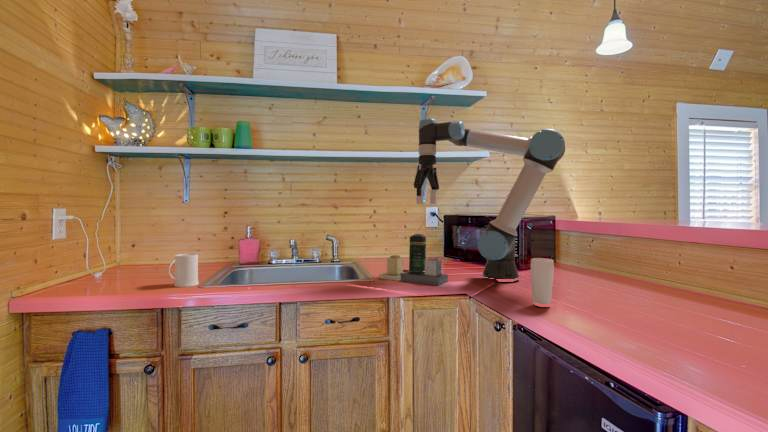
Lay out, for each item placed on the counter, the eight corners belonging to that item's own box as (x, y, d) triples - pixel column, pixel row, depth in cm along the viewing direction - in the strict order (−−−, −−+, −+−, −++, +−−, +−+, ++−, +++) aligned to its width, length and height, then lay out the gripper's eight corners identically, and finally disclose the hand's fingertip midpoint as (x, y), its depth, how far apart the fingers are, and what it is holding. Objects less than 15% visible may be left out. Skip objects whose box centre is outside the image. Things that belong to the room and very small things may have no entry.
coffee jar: (425, 274, 172) (425, 234, 172) (408, 273, 173) (408, 234, 173) (426, 271, 181) (426, 233, 181) (410, 270, 183) (410, 233, 182)
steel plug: (441, 282, 150) (441, 258, 149) (436, 284, 145) (436, 259, 145) (430, 280, 152) (430, 257, 152) (424, 282, 148) (424, 258, 148)
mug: (173, 289, 137) (173, 257, 137) (161, 287, 142) (160, 255, 141) (203, 284, 147) (203, 254, 147) (190, 281, 152) (190, 252, 151)
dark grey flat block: (447, 284, 150) (447, 274, 150) (438, 288, 143) (438, 278, 143) (411, 279, 159) (411, 270, 159) (400, 283, 152) (400, 273, 152)
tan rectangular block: (402, 278, 161) (403, 255, 160) (397, 279, 156) (397, 256, 156) (393, 276, 163) (393, 254, 163) (387, 278, 159) (387, 255, 159)
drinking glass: (546, 303, 121) (547, 257, 121) (557, 309, 114) (558, 260, 114) (526, 303, 121) (527, 257, 120) (535, 309, 114) (536, 260, 114)
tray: (410, 278, 162) (410, 272, 162) (397, 282, 153) (397, 276, 153) (392, 276, 167) (392, 270, 167) (379, 280, 158) (379, 274, 157)
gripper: (431, 159, 174) (431, 204, 174) (405, 152, 153) (405, 203, 154) (446, 158, 170) (446, 204, 170) (422, 150, 149) (421, 203, 149)
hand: (426, 204), depth 162 cm, fingers open, 13 cm apart
